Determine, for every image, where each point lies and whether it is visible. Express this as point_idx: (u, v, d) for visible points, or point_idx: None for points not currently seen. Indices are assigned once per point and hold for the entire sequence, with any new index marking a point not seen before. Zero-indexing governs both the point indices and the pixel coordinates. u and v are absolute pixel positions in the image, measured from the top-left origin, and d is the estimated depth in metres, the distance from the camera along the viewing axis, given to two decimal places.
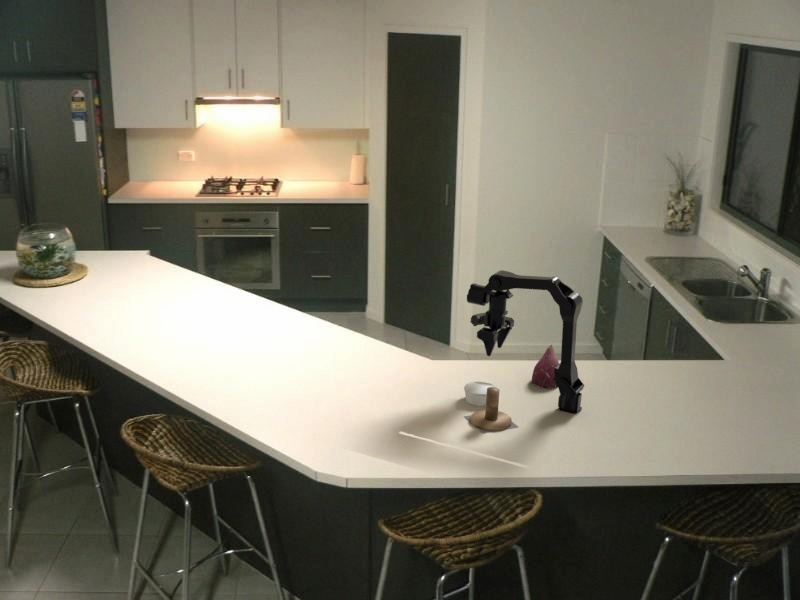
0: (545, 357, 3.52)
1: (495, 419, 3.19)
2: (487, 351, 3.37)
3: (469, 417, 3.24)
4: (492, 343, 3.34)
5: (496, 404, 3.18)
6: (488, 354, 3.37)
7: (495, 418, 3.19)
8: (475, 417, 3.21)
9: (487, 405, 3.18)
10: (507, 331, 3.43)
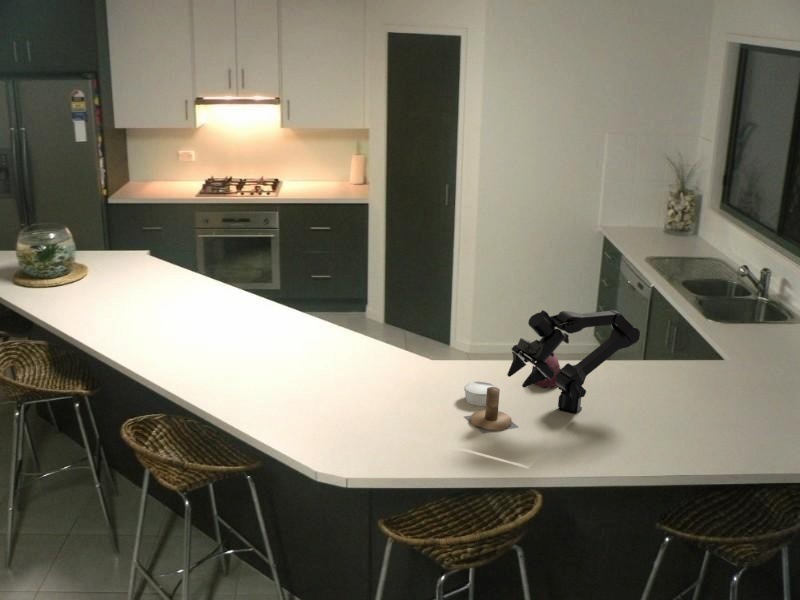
0: None
1: (495, 419, 3.19)
2: (527, 382, 3.16)
3: (469, 417, 3.24)
4: (540, 379, 3.17)
5: (496, 404, 3.18)
6: (524, 385, 3.17)
7: (495, 418, 3.19)
8: (475, 417, 3.21)
9: (487, 405, 3.18)
10: (524, 365, 3.27)
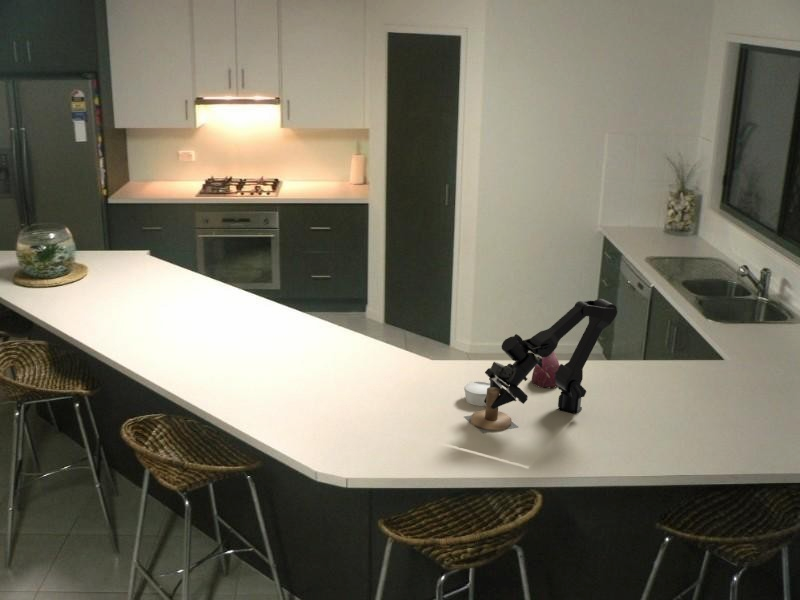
0: (545, 357, 3.52)
1: (495, 419, 3.19)
2: (496, 404, 3.17)
3: (469, 417, 3.24)
4: (509, 400, 3.17)
5: None
6: (493, 407, 3.17)
7: (495, 418, 3.19)
8: (475, 417, 3.21)
9: (487, 405, 3.18)
10: (501, 391, 3.23)
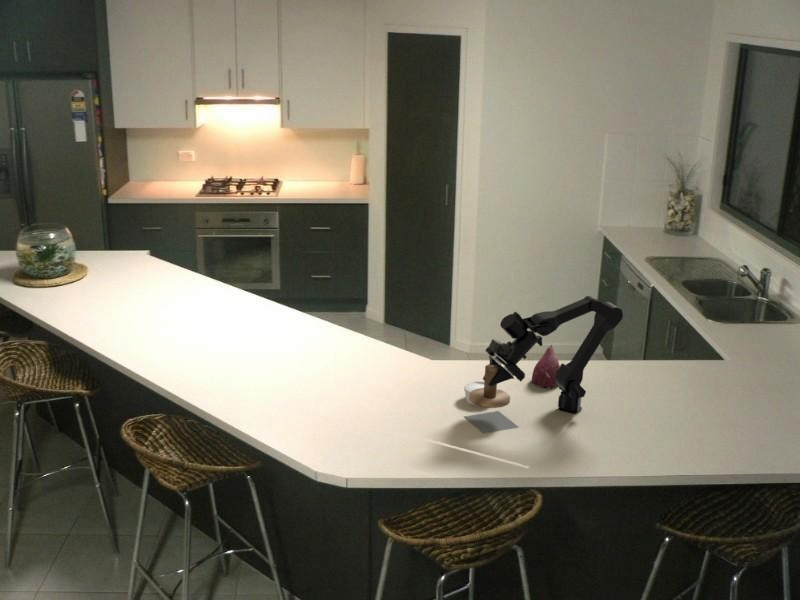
0: (545, 357, 3.52)
1: (493, 397, 3.19)
2: (493, 381, 3.16)
3: (469, 417, 3.24)
4: (507, 378, 3.16)
5: None
6: (491, 384, 3.17)
7: (493, 396, 3.19)
8: (473, 395, 3.21)
9: (485, 382, 3.18)
10: None
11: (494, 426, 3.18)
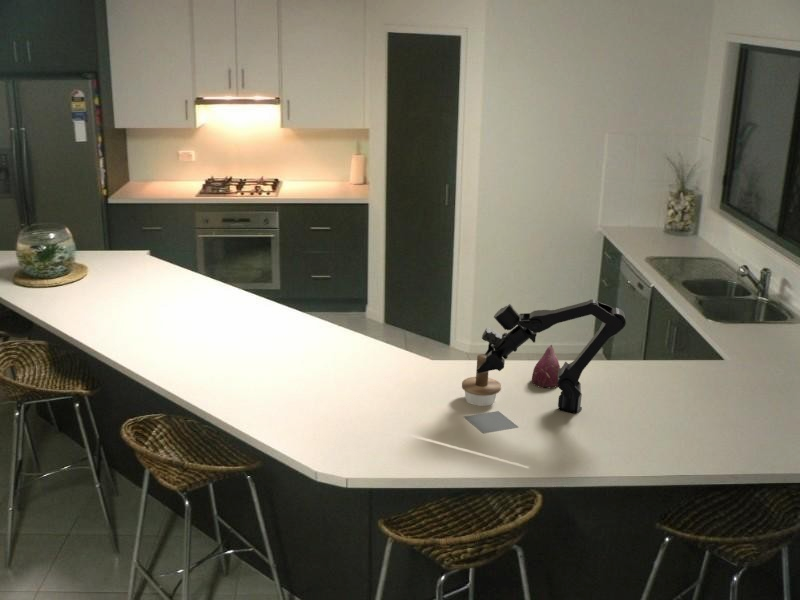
0: (545, 357, 3.52)
1: (482, 385, 3.34)
2: (480, 369, 3.29)
3: (469, 417, 3.24)
4: (493, 368, 3.28)
5: None
6: (478, 371, 3.30)
7: (482, 384, 3.34)
8: (468, 380, 3.38)
9: (476, 370, 3.34)
10: None
11: (494, 426, 3.18)
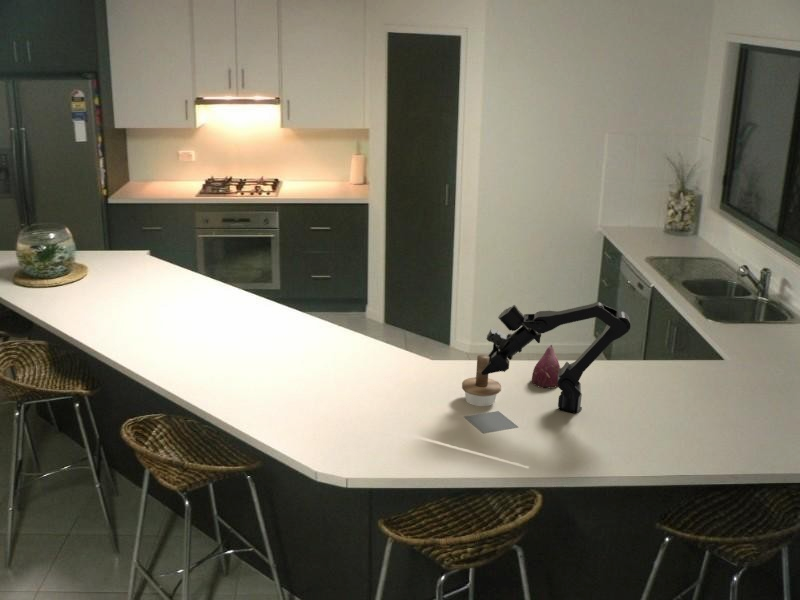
0: (545, 357, 3.52)
1: (482, 386, 3.34)
2: (485, 370, 3.29)
3: (469, 417, 3.24)
4: (497, 369, 3.27)
5: None
6: (483, 373, 3.29)
7: (482, 385, 3.34)
8: (468, 381, 3.38)
9: (476, 370, 3.34)
10: None
11: (494, 426, 3.18)
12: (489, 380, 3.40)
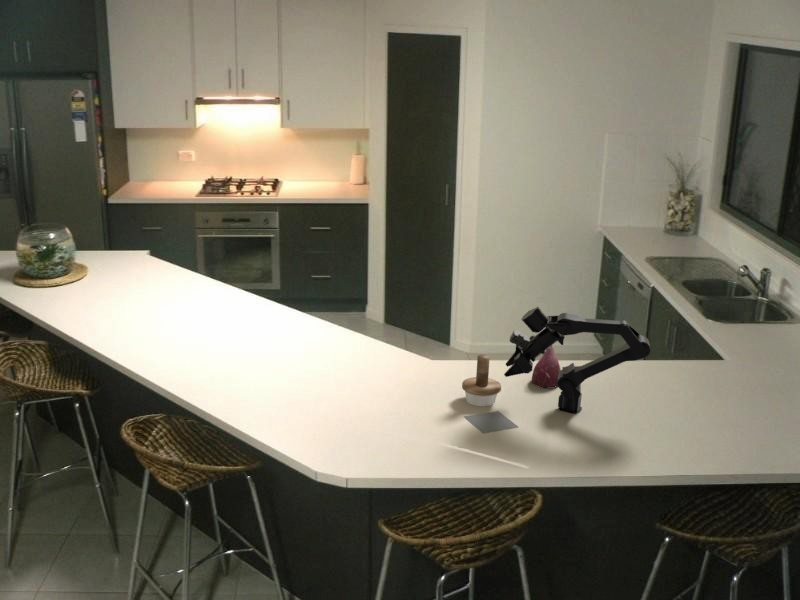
0: (545, 357, 3.52)
1: (482, 385, 3.34)
2: (508, 372, 3.27)
3: (469, 417, 3.24)
4: (520, 371, 3.26)
5: (483, 371, 3.32)
6: (506, 375, 3.28)
7: (482, 384, 3.34)
8: (468, 380, 3.38)
9: (477, 370, 3.34)
10: None
11: (494, 426, 3.18)
12: (489, 380, 3.39)
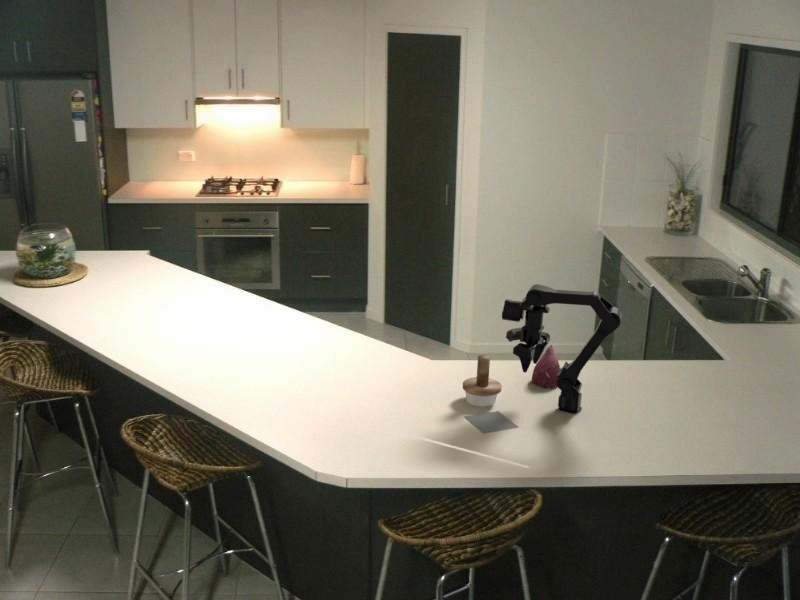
0: (545, 357, 3.52)
1: (483, 385, 3.33)
2: (523, 367, 3.29)
3: (469, 417, 3.24)
4: (528, 359, 3.26)
5: (484, 371, 3.32)
6: (524, 370, 3.29)
7: (483, 384, 3.33)
8: (468, 381, 3.38)
9: (477, 370, 3.34)
10: (543, 346, 3.35)
11: (494, 426, 3.18)
12: (490, 380, 3.39)
